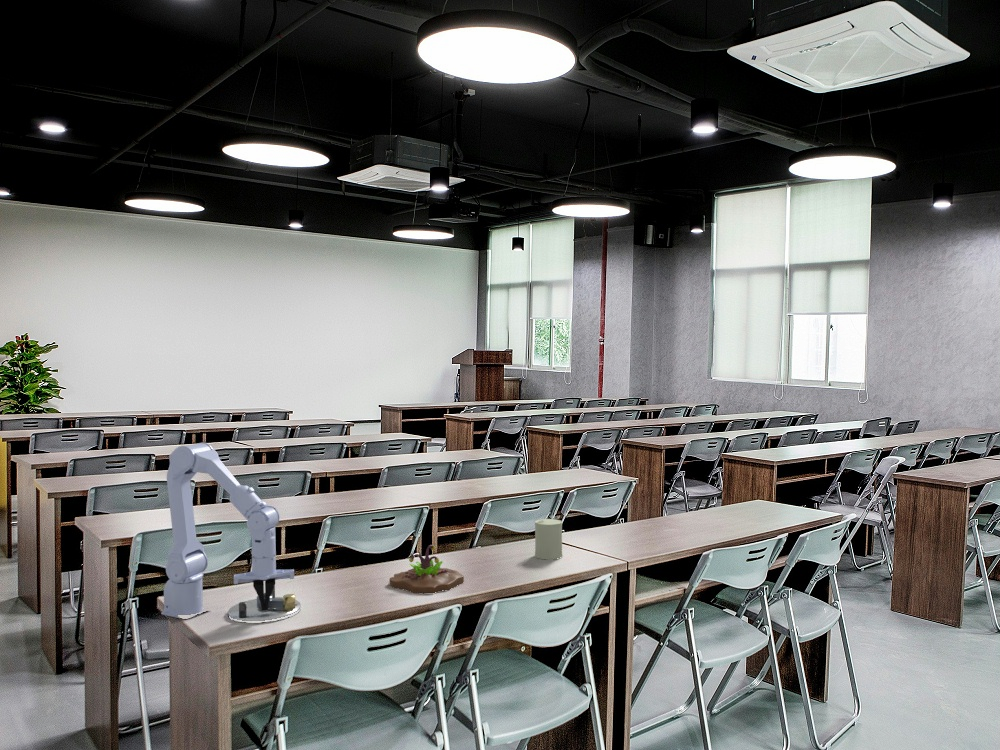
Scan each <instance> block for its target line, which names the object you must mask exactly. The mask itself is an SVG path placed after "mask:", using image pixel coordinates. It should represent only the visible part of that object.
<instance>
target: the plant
mask: <svg viewBox="0 0 1000 750" xmlns="http://www.w3.org/2000/svg"><path fill="white" fill-rule="evenodd" d="M430 549H431V551H434V550H436V546H435V545H434V544H430V545H428V546H427V548H426V551H425V555H424V557H423V556H422V555H421V554H419V553H418V554H417V553H415V554H414V555H412V556H411V557H409V562H410V563H409V566H411V567H412V568H411V569H408V570H406V571H401V572H398V573H395V574H393V576H391V577H390V578H389V586H390V587H391V586H392V587H391V588H393V587H394V588H393V589H397V588H399V589H398V590H402V589H404V590H403V591H406V590H407V592H410V591H411V592H410V593H412V592H413V593H412V594H419V593H423V594H422V595H425V594H424V593H435V592H437V593H439V592H438V591H441V592H446V591H445V590H448V591H451V590H452V589H451V588H453V589H455V588H457V587H458V586H460V585H459V584H461V585H462V584H464V583H463V582H465V579H464V578H465V576H464V574H462V573H461V572H459V570H454V569H450V568H446V567H444V568H443V567H441V565H442V564H443V563H444V561H443V560H442V561H440V559H439V558H438V557H437V556H430V557H429V554H430ZM415 557H418V558H419V560H420V562H419V561H416V562H415V563H416V564H413V562H414V560H415V559H414V558H415ZM433 559H434V560H433ZM434 563H435V564H434ZM457 585H458V586H457ZM454 587H455V588H454ZM450 589H451V590H450ZM442 590H444V591H442ZM435 594H436V593H435Z"/></svg>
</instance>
